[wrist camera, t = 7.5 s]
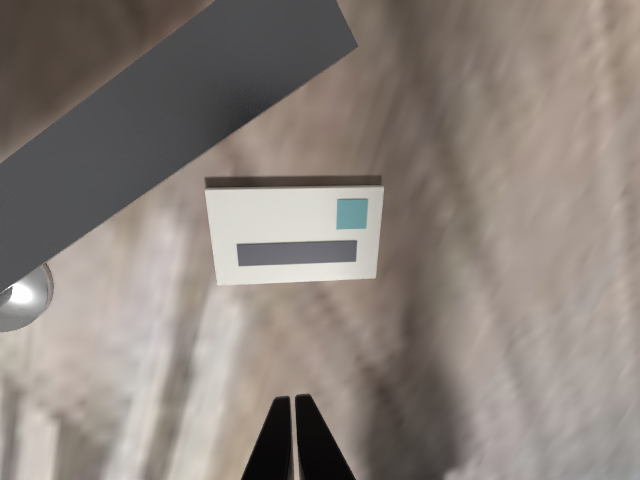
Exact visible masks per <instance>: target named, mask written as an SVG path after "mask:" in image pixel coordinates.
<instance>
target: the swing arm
mask: <svg viewBox="0 0 640 480" xmlns="http://www.w3.org/2000/svg"><path fill="white" fill-rule="evenodd" d="M357 47H358V45H357V43H356V41H355V39H354V37H353V35H352V33H351V31H350V29H349V27H348V24H347V22H346V20H345V18H344V16H343V14H342V12H341V10H340V8H339V6H338V4H337V2H336V0H216V1H215V2H213V3H212V4H211V5H209V6H208V7H207V8H205V9H204V10H203V11H201V12H200V13H199V14H198V15H196V16H195V17H194V18H192V19H191V20H190V21H188V22H187V23H186V24H184V25H183V26H182V27H180V28H179V29H178V30H176V31H175V32H174V33H172V34H171V35H170V36H168V37H167V38H166V39H164V40H163V41H162V42H161V43H159V44H158V45H157V46H155V47H154V48H153V49H151V50H150V51H149V52H147V53H146V54H145V55H143V56H142V57H141V58H139V59H138V60H137V61H135V62H134V63H133V64H131V65H130V66H129V67H127V68H126V69H125V70H124V71H122V72H121V73H120V74H118V75H117V76H116V77H114V78H113V79H112V80H110V81H109V82H108V83H106V84H105V85H104V86H102V87H101V88H100V89H98V90H97V91H96V92H94V93H93V94H92V95H90V96H89V97H88V98H87V99H85V100H84V101H83V102H81V103H80V104H79V105H77V106H76V107H75V108H73V109H72V110H71V111H69V112H68V113H67V114H65V115H64V116H63V117H61V118H60V119H59V120H57V121H56V122H55V123H53V124H52V125H51V126H50V127H48V128H47V129H46V130H44V131H43V132H42V133H40V134H39V135H38V136H36V137H35V138H34V139H32V140H31V141H30V142H28V143H27V144H26V145H24V146H23V147H22V148H20V149H19V150H18V151H16V152H15V153H14V154H13V155H11V156H10V157H9V158H7V159H6V160H5V161H3V162H2V163H1V164H0V294H1V293H3V292H4V291H5V290H7V289H8V288H10V287H11V286H13V285H14V284H16V283H17V282H19V281H20V280H21V279H23V278H24V277H26V276H27V275H29V274H30V273H32V272H33V271H35V270H36V269H37V268H39V267H40V266H42V265H43V264H45V263H46V262H48V261H49V260H51V259H52V258H53V257H55V256H56V255H58V254H59V253H61V252H62V251H64V250H65V249H66V248H68V247H69V246H71V245H72V244H74V243H75V242H77V241H78V240H80V239H81V238H82V237H84V236H85V235H87V234H88V233H90V232H91V231H93V230H94V229H96V228H97V227H98V226H100V225H101V224H103V223H104V222H106V221H107V220H109V219H110V218H112V217H113V216H114V215H116V214H117V213H119V212H120V211H122V210H123V209H125V208H126V207H127V206H129V205H130V204H132V203H133V202H135V201H136V200H138V199H139V198H141V197H142V196H143V195H145V194H146V193H148V192H149V191H151V190H152V189H154V188H155V187H157V186H158V185H159V184H161V183H162V182H164V181H165V180H167V179H168V178H170V177H171V176H173V175H174V174H175V173H177V172H178V171H180V170H181V169H183V168H184V167H186V166H187V165H188V164H190V163H191V162H193V161H194V160H196V159H197V158H199V157H200V156H202V155H203V154H204V153H206V152H207V151H209V150H210V149H212V148H213V147H215V146H216V145H218V144H219V143H220V142H222V141H223V140H225V139H226V138H228V137H229V136H231V135H232V134H234V133H235V132H236V131H238V130H239V129H241V128H242V127H244V126H245V125H247V124H248V123H249V122H251V121H252V120H254V119H255V118H257V117H258V116H260V115H261V114H263V113H264V112H265V111H267V110H268V109H270V108H271V107H273V106H274V105H276V104H277V103H279V102H280V101H281V100H283V99H284V98H286V97H287V96H289V95H290V94H292V93H293V92H295V91H296V90H297V89H299V88H300V87H302V86H303V85H305V84H306V83H308V82H309V81H310V80H312V79H313V78H315V77H316V76H318V75H319V74H321V73H322V72H324V71H325V70H326V69H328V68H329V67H331V66H332V65H334V64H335V63H336V62H338V61H339V60H340V59H342V58H343V57H345V56H346V55H347V54H349V53H350V52H351V51H353V50H354V49H355V48H357Z"/></svg>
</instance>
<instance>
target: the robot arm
mask: <svg viewBox="0 0 640 480" xmlns="http://www.w3.org/2000/svg"><path fill="white" fill-rule="evenodd" d="M295 408H296V427H297V445H298V461H299V477H300V480H356V479H355V477H354V475H353V473H352V471H351V470H350V468H349V466H348V464H347V462H346V460H345V458H344V456H343V455H342V453H341V451H340V449H339V447H338V445H337V443H336V441H335V440H334V438H333V436H332V434H331V432H330V430H329V428H328V426H327V425H326V423H325V421H324V419H323V417H322V415H321V413H320V411H319V410H318V408H317V406H316V404H315V402H314V400H313V398H312V397H311V395H310V394H299V395H296V396H295ZM241 480H294V461H293V439H292V418H291V404H290V397H289V396H280V397H276V398H275V399H274V400H273V402H272V405H271V407H270V410H269V412H268V415H267V417H266V420H265V422H264V424H263V427H262V429H261V432H260V434H259V437H258V439H257V441H256V444H255V446H254V449H253V451H252V454H251V456H250V458H249V461H248V463H247V466H246V468H245V471H244V473H243V476H242V478H241Z"/></svg>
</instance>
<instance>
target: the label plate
mask: <svg viewBox="0 0 640 480" xmlns="http://www.w3.org/2000/svg"><path fill="white" fill-rule="evenodd" d="M383 194H384V187H383V186H382V185H360V186H292V187H224V188H206V189H205V195H206V202H207V210H208V218H209V225H210V233H211V240H212V248H213V256H214V263H215V271H216V278H217V286H218V285H240V284H262V283H284V282H306V281H327V280H349V279H371V278H376V271H377V260H378V249H379V238H380V227H381V216H382V205H383Z"/></svg>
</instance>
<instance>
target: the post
mask: <svg viewBox="0 0 640 480" xmlns="http://www.w3.org/2000/svg"><path fill="white" fill-rule="evenodd" d="M53 288H54V287H53V280H52V276H51V273H50V271H49V269H48V267H47V265H46V263H45V264H43V265H42V266H40V267H39V268H37V269H36V270H35V271H33V272H32V273H30V274H29V275H27V276H26V277H24V278H23V279H21V280H20V281H19V282H17V283H16V284H14V285H13V286H11V287H10V288H8V289H7V290H5V291H4V292H3V293H1V294H0V332H8V331H13V330H17V329H20V328H23V327H25V326H27V325H29V324H30V323H31V322H33V321H34V320H35V319H37V318H38V317H39V316H40V315H41V314H42V313H43V312H44V311H45V310H46V309H47V307H48V306H49V304H50V302H51V300H52V296H53Z"/></svg>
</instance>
